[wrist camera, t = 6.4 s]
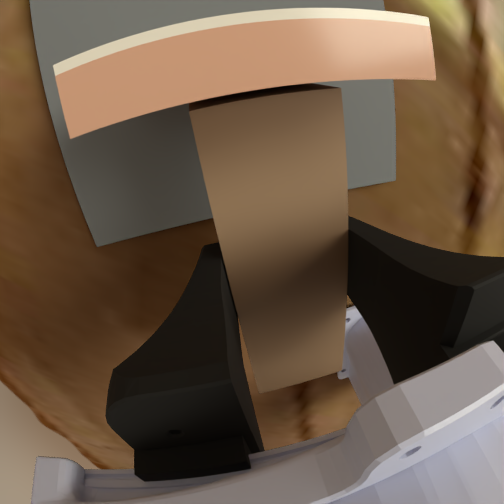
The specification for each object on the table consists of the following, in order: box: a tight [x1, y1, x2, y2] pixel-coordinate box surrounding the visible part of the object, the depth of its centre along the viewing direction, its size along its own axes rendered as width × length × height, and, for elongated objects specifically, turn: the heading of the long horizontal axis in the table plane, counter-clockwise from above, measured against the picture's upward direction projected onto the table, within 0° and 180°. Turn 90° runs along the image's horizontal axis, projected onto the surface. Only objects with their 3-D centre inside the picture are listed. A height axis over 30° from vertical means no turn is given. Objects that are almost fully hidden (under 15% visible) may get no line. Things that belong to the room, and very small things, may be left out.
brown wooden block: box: [189, 83, 348, 394], centre depth 13 cm, size 12×4×5 cm, turn 9°
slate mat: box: [30, 0, 396, 247], centre depth 13 cm, size 20×19×1 cm
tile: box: [53, 8, 436, 139], centre depth 10 cm, size 2×10×9 cm, turn 99°
